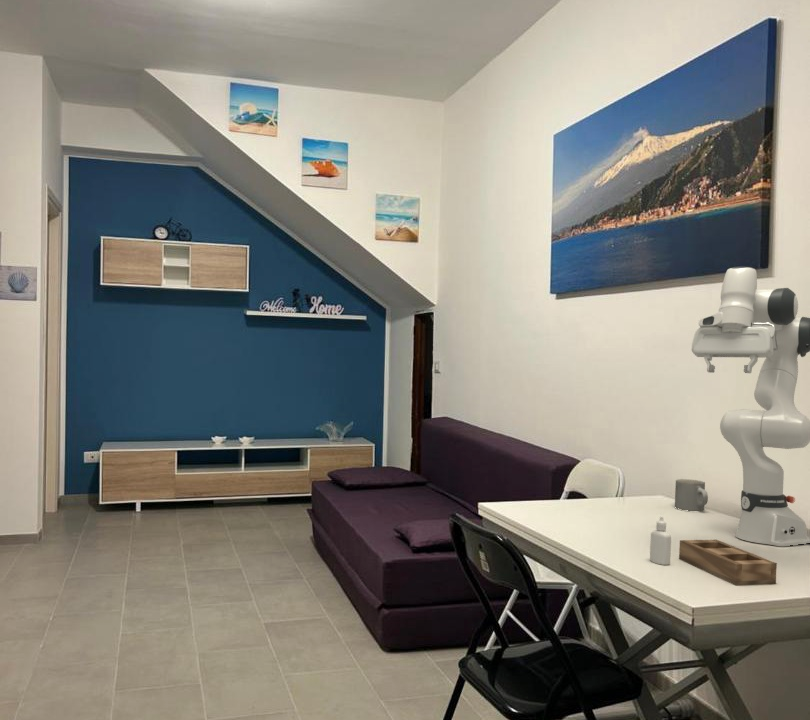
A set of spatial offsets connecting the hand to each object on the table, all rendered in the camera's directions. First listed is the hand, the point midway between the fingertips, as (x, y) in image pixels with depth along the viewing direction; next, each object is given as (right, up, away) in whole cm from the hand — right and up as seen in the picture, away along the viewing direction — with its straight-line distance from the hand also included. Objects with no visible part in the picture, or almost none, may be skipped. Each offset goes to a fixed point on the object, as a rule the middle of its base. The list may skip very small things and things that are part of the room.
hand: (728, 372), depth 207 cm
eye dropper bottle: (-18, -50, -1) cm, 53 cm away
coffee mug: (+18, -51, +75) cm, 93 cm away
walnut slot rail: (-4, -50, -6) cm, 51 cm away
